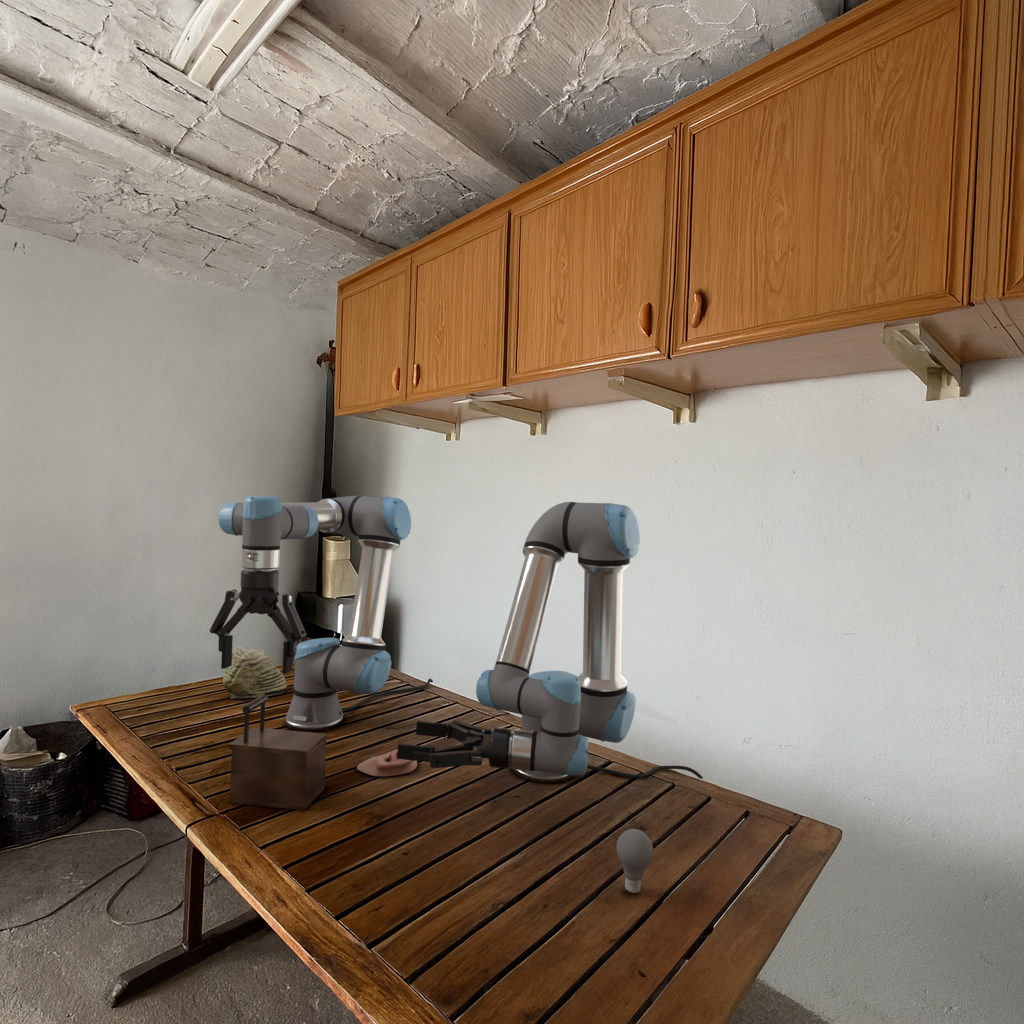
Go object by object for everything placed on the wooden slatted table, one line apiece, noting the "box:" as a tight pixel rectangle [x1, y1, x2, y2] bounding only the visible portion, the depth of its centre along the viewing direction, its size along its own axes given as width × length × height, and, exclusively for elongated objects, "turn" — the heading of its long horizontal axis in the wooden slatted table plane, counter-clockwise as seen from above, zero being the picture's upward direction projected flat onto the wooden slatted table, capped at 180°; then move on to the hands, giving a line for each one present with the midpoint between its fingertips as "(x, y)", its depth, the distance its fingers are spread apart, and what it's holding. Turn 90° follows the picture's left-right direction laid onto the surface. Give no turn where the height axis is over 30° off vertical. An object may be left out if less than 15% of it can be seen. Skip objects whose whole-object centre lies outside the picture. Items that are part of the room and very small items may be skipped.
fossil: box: [222, 646, 288, 699], centre depth 198 cm, size 9×18×15 cm, turn 132°
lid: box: [228, 695, 327, 756], centre depth 133 cm, size 17×10×9 cm, turn 83°
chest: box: [229, 738, 327, 811], centre depth 133 cm, size 16×10×11 cm, turn 83°
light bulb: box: [615, 828, 654, 894], centre depth 106 cm, size 6×6×10 cm
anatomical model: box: [356, 748, 418, 777], centre depth 149 cm, size 13×4×12 cm
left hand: (256, 669), depth 134 cm, fingers open, 13 cm apart
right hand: (407, 738), depth 130 cm, fingers open, 13 cm apart
